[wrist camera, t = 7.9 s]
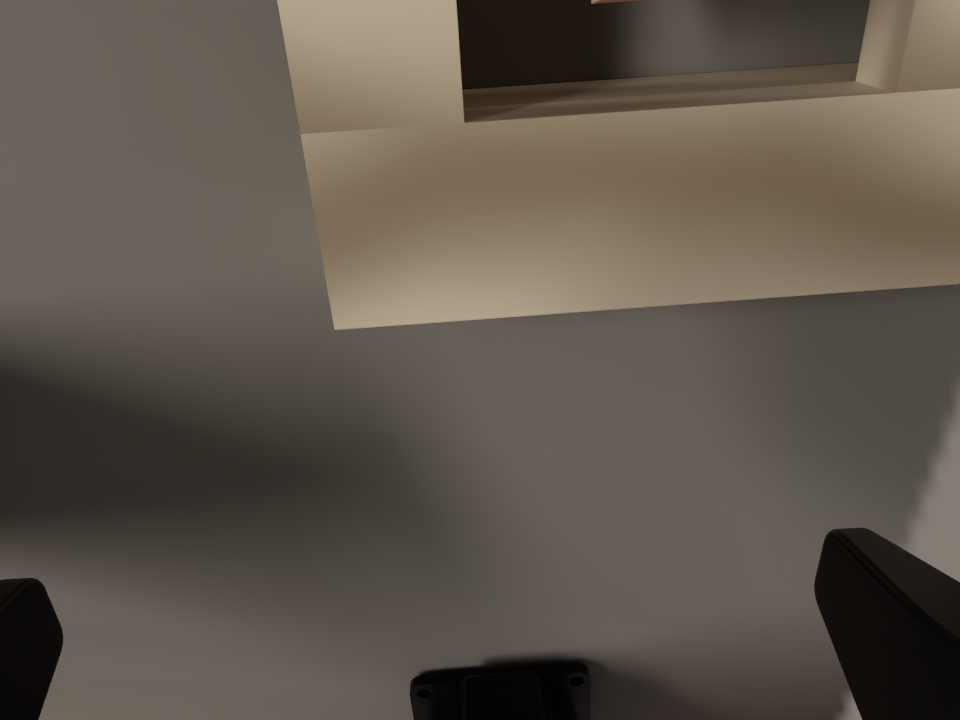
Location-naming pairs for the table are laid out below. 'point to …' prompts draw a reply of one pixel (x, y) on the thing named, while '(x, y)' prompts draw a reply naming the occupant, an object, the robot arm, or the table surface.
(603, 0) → the tee shaped peg
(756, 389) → the table surface
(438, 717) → the robot arm
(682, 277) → the frame with crossbar
